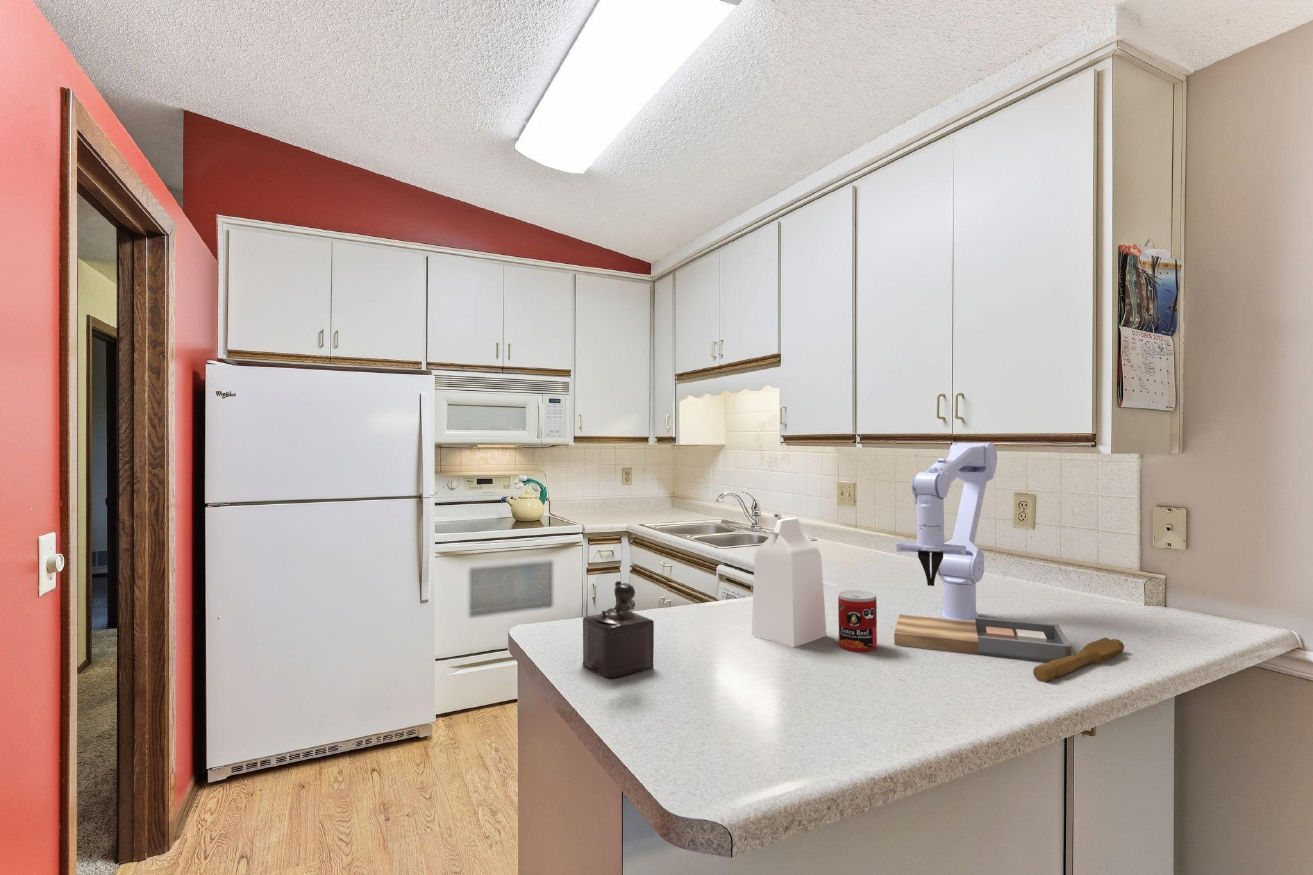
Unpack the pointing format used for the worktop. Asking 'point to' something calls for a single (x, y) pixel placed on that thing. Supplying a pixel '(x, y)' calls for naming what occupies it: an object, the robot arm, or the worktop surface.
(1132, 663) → the worktop surface
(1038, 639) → the tile
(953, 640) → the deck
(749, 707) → the worktop surface
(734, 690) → the worktop surface
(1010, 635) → the tile
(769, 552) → the milk
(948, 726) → the worktop surface
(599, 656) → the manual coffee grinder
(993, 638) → the tray
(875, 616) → the canned food
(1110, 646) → the tap handle
